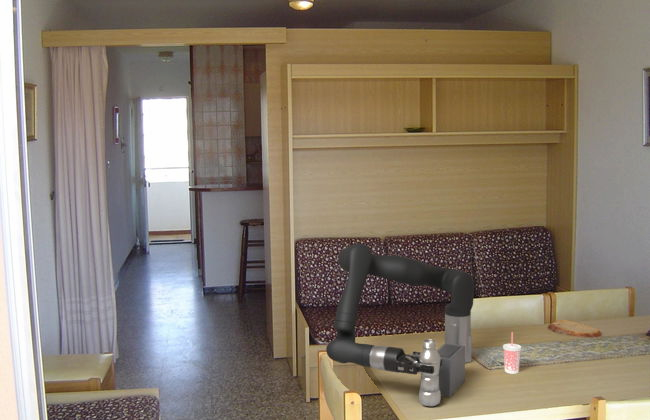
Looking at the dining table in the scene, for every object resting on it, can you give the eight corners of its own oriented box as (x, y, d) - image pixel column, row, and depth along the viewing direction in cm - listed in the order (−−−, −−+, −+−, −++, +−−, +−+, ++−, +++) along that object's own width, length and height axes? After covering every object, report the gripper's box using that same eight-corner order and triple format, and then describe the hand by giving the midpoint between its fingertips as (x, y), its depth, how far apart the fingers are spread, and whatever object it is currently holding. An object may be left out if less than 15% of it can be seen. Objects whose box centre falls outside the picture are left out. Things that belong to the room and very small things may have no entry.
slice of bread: (604, 337, 269) (604, 328, 269) (560, 338, 269) (560, 329, 268) (585, 325, 287) (586, 317, 287) (544, 326, 287) (544, 318, 286)
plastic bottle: (416, 401, 206) (415, 338, 204) (438, 399, 207) (437, 337, 204) (421, 409, 200) (420, 345, 197) (443, 408, 200) (442, 343, 198)
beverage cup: (511, 375, 227) (511, 335, 226) (498, 370, 232) (499, 331, 231) (524, 372, 230) (525, 332, 229) (511, 367, 235) (512, 328, 234)
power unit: (464, 380, 223) (465, 345, 222) (450, 397, 209) (450, 359, 208) (443, 377, 226) (443, 342, 225) (427, 393, 212) (427, 355, 211)
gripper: (377, 353, 202) (430, 361, 194) (395, 340, 215) (445, 347, 207) (377, 377, 203) (429, 386, 195) (395, 363, 215) (445, 371, 208)
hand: (437, 366), depth 201 cm, fingers open, 6 cm apart
